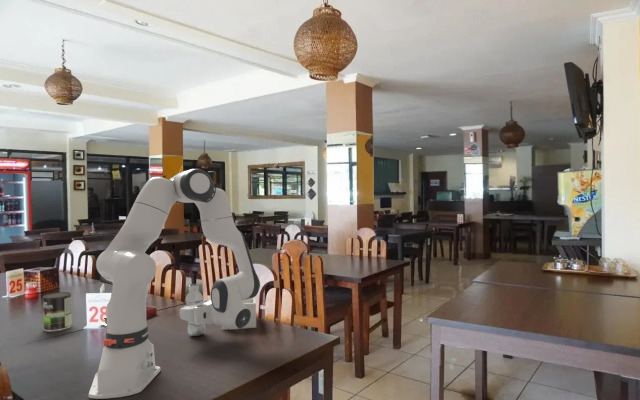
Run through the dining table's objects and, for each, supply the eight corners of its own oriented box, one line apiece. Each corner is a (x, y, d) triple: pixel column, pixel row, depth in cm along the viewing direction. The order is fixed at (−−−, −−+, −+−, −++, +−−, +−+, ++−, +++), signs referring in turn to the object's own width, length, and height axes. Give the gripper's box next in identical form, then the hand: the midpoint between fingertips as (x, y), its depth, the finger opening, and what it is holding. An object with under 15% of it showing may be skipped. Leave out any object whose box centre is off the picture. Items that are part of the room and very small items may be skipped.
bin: (256, 327, 170) (255, 303, 170) (221, 330, 167) (220, 305, 167) (255, 317, 184) (255, 295, 183) (223, 319, 181) (222, 297, 181)
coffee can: (52, 333, 168) (51, 298, 168) (38, 329, 173) (37, 296, 173) (77, 325, 177) (76, 293, 177) (63, 322, 182) (62, 291, 182)
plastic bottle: (200, 338, 158) (197, 287, 157) (184, 337, 159) (181, 287, 158) (208, 332, 164) (205, 282, 163) (192, 331, 166) (189, 282, 164)
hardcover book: (157, 315, 191) (157, 306, 191) (119, 329, 172) (119, 319, 172) (138, 313, 196) (137, 304, 196) (99, 326, 177) (98, 316, 177)
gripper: (238, 296, 160) (217, 291, 169) (192, 308, 145) (171, 302, 154) (238, 312, 160) (217, 307, 169) (192, 326, 145) (171, 319, 154)
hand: (195, 305), depth 161 cm, fingers open, 8 cm apart
